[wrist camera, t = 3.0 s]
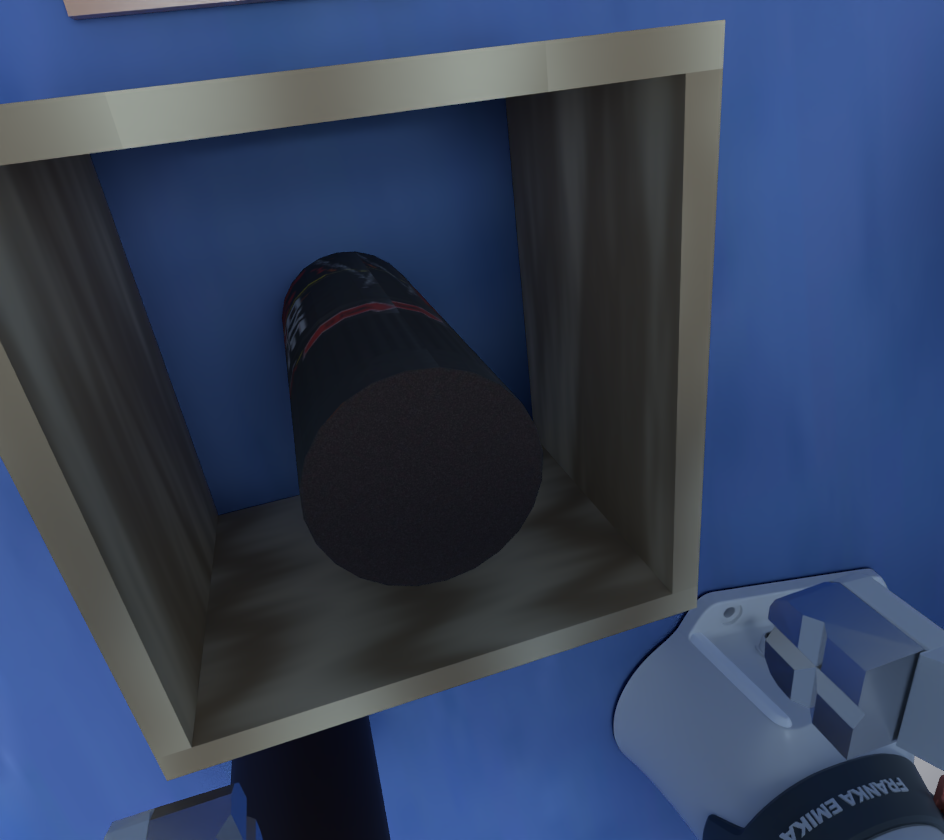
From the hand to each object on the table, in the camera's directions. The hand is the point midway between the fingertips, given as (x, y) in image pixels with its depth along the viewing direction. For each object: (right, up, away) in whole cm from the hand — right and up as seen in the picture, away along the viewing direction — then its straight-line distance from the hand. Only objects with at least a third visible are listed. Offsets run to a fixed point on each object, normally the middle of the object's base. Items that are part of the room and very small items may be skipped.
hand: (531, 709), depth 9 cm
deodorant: (-6, +9, +19) cm, 22 cm away
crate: (-6, +9, +19) cm, 22 cm away
